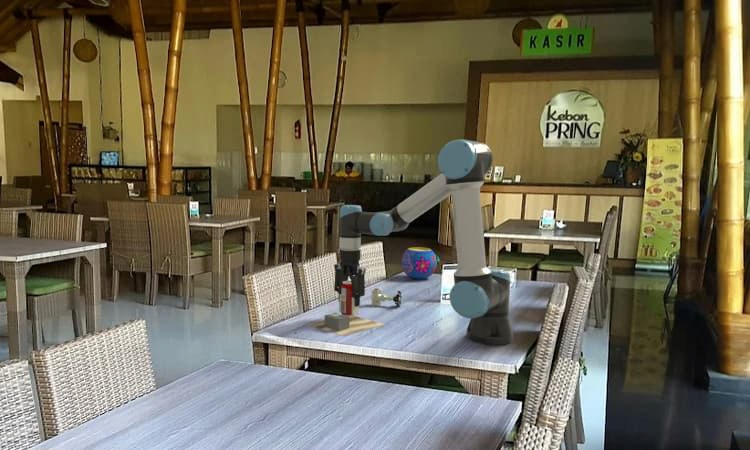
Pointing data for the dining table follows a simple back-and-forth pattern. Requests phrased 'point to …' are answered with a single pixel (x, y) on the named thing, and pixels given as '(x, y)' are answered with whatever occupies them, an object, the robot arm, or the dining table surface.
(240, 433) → the dining table surface
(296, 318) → the dining table surface
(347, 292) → the soda can
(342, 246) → the robot arm
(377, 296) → the valve
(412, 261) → the ceramic pot
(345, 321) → the block
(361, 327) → the panel
